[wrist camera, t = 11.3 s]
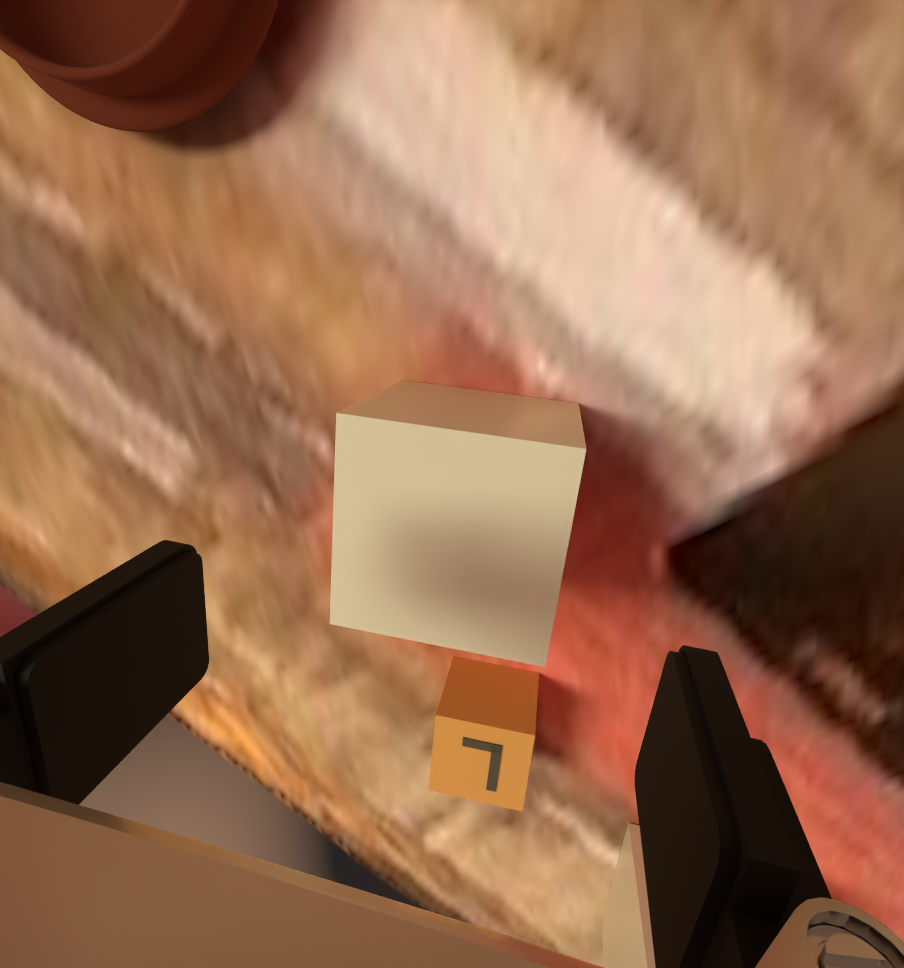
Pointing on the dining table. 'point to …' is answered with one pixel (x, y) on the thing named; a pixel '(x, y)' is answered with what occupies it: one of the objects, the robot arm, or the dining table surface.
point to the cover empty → (628, 910)
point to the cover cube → (454, 516)
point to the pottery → (135, 54)
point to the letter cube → (485, 733)
